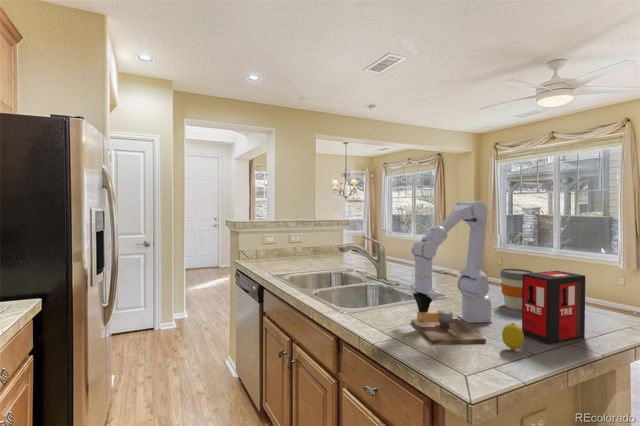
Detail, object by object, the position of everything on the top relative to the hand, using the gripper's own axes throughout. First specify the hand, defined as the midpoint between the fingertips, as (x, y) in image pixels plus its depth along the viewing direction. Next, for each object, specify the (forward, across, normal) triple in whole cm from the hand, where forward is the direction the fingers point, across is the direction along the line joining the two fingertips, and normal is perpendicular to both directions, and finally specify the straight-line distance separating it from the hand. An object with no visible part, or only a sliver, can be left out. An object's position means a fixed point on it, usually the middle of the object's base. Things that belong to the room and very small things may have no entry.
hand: (423, 314), depth 117 cm
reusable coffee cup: (+5, -14, +52) cm, 54 cm away
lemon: (+5, +23, +16) cm, 28 cm away
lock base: (+4, +5, +5) cm, 9 cm away
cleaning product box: (+5, +16, +37) cm, 41 cm away
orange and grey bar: (+1, +3, +3) cm, 4 cm away
